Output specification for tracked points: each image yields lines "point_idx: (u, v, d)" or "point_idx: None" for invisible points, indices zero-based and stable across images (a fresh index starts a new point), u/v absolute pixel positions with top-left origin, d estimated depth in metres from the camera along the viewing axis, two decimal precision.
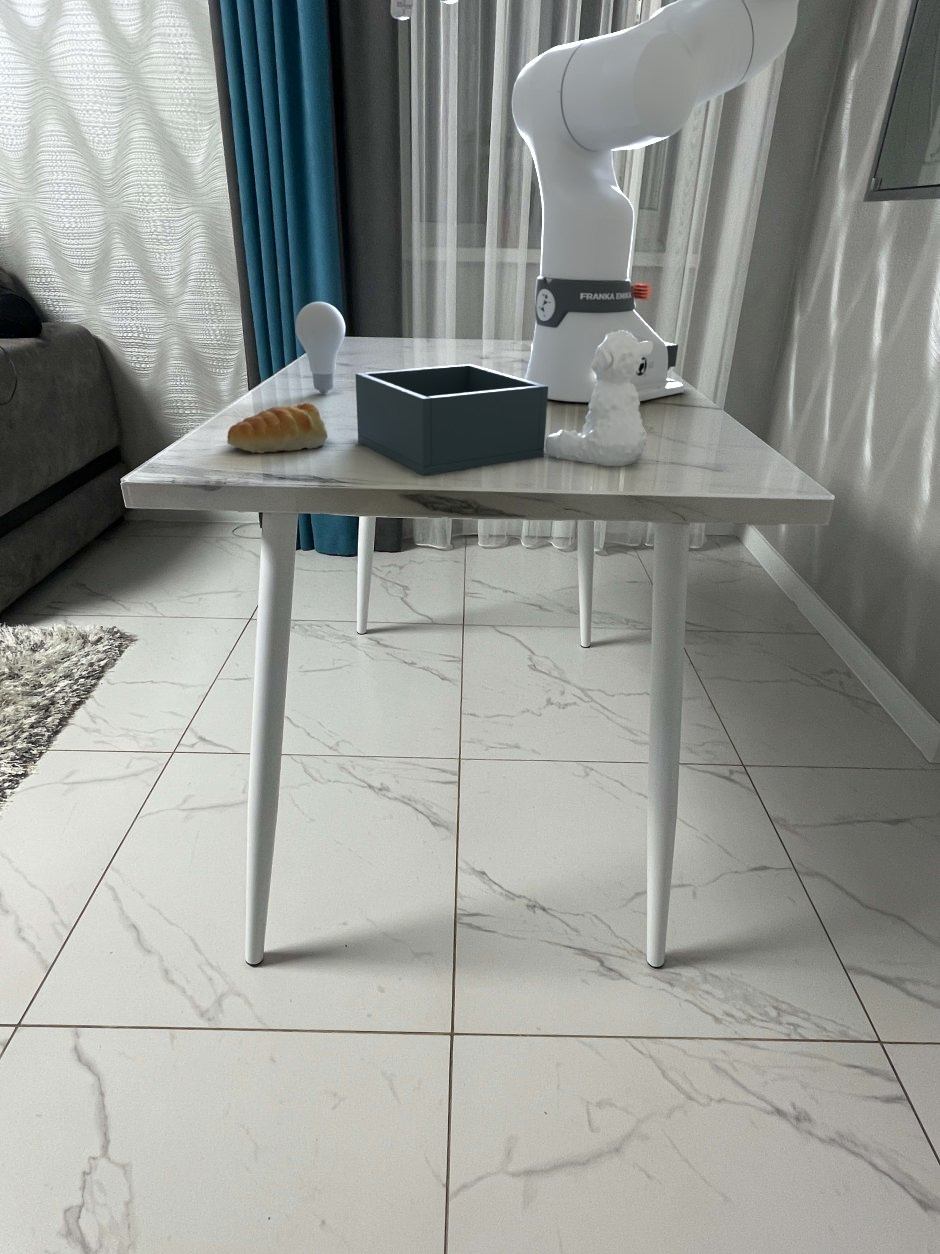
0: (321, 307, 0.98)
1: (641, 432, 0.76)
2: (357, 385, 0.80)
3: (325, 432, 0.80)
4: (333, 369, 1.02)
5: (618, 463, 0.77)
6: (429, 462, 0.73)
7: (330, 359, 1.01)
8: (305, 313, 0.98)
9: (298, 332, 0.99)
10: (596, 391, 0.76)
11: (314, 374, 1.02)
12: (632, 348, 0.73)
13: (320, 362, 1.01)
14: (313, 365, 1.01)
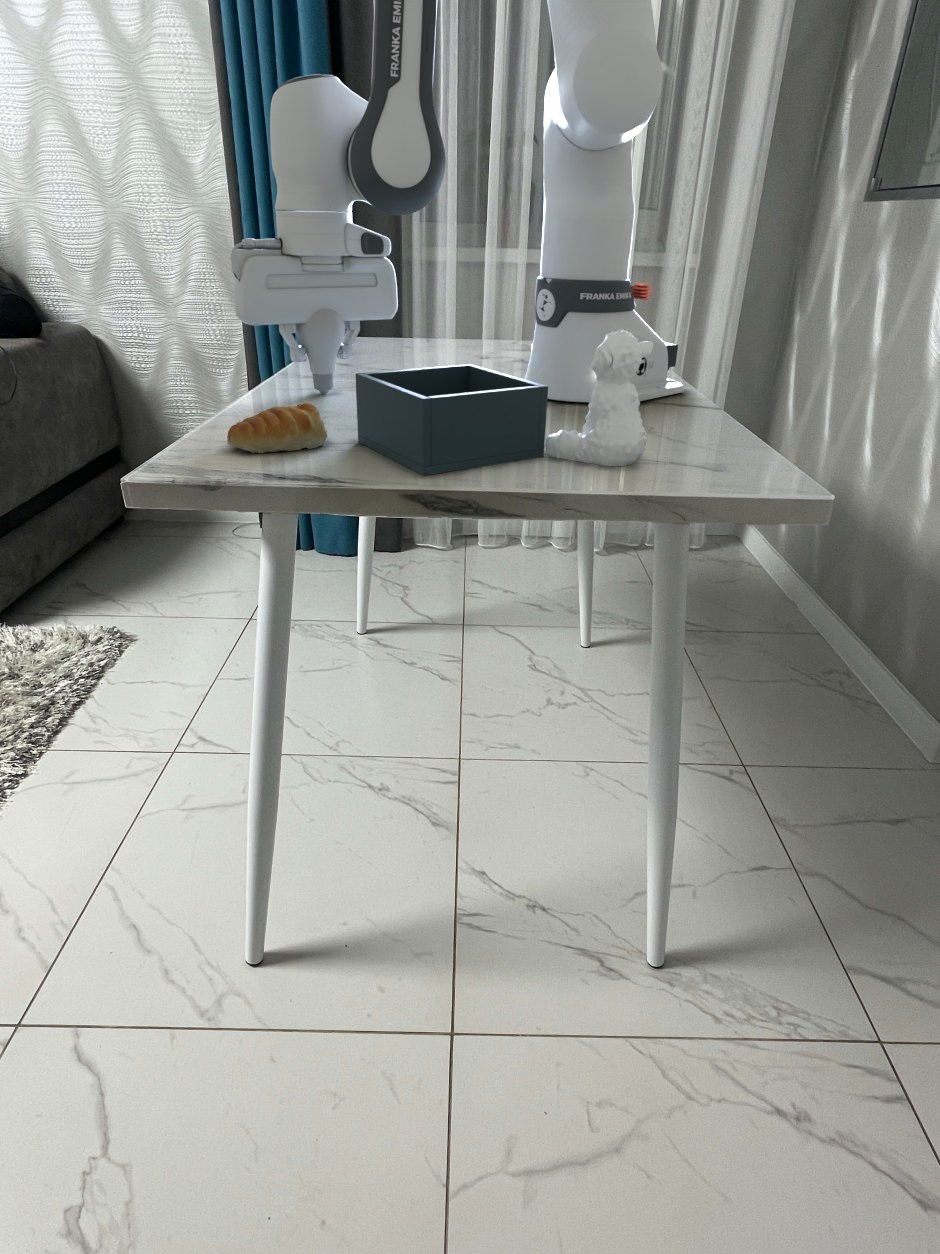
0: None
1: (641, 432, 0.76)
2: (357, 385, 0.80)
3: (325, 432, 0.80)
4: (333, 369, 1.02)
5: (618, 463, 0.77)
6: (429, 462, 0.73)
7: (330, 359, 1.01)
8: None
9: (298, 332, 0.99)
10: (596, 391, 0.76)
11: (314, 374, 1.02)
12: (632, 348, 0.73)
13: (320, 362, 1.01)
14: (313, 366, 1.01)
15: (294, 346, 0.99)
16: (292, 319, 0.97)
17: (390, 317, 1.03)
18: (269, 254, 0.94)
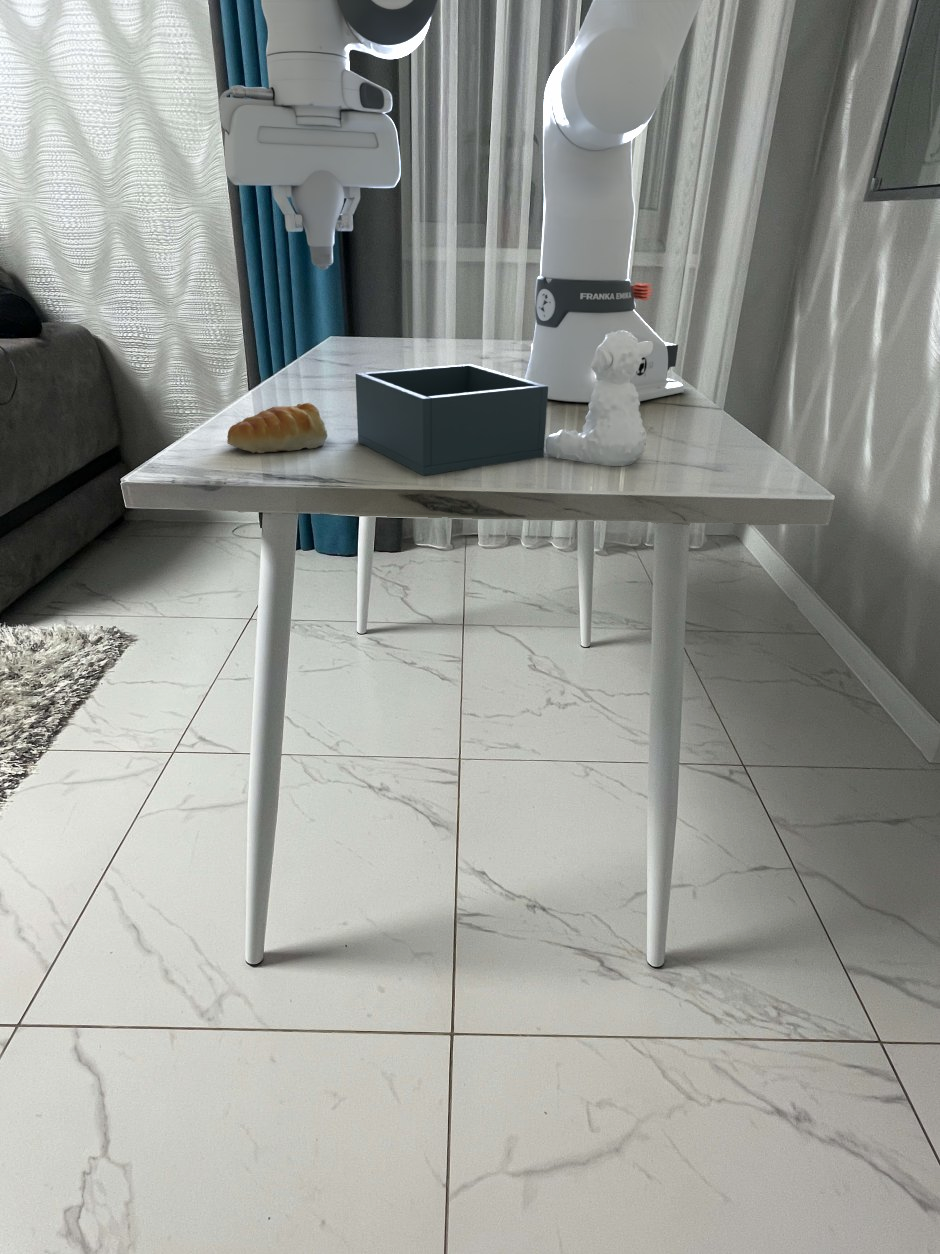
0: None
1: (641, 432, 0.76)
2: (357, 385, 0.80)
3: (325, 432, 0.80)
4: (332, 241, 0.95)
5: (618, 463, 0.77)
6: (429, 462, 0.73)
7: (328, 229, 0.94)
8: None
9: (293, 198, 0.92)
10: (596, 391, 0.76)
11: (312, 247, 0.95)
12: (632, 348, 0.73)
13: (318, 231, 0.94)
14: (311, 237, 0.94)
15: (290, 212, 0.92)
16: (287, 180, 0.90)
17: (392, 185, 0.96)
18: (260, 105, 0.86)
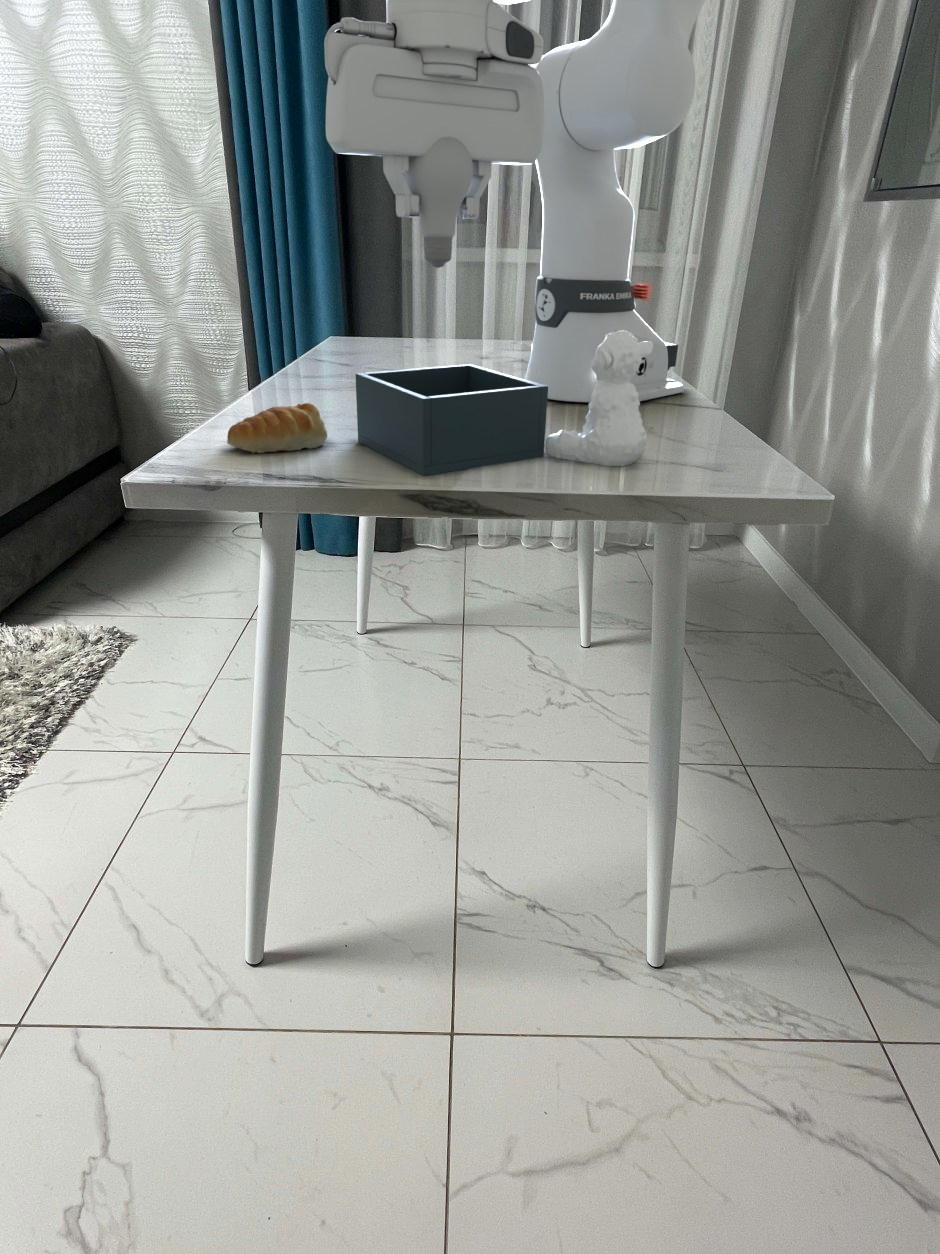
0: None
1: (641, 432, 0.76)
2: (357, 385, 0.80)
3: (325, 432, 0.80)
4: (453, 231, 0.73)
5: (618, 463, 0.77)
6: (429, 462, 0.73)
7: (451, 215, 0.72)
8: None
9: (409, 173, 0.70)
10: (596, 391, 0.76)
11: (427, 238, 0.73)
12: (632, 348, 0.73)
13: (438, 218, 0.72)
14: (428, 224, 0.73)
15: (405, 192, 0.70)
16: (405, 148, 0.68)
17: (532, 161, 0.74)
18: (378, 46, 0.65)
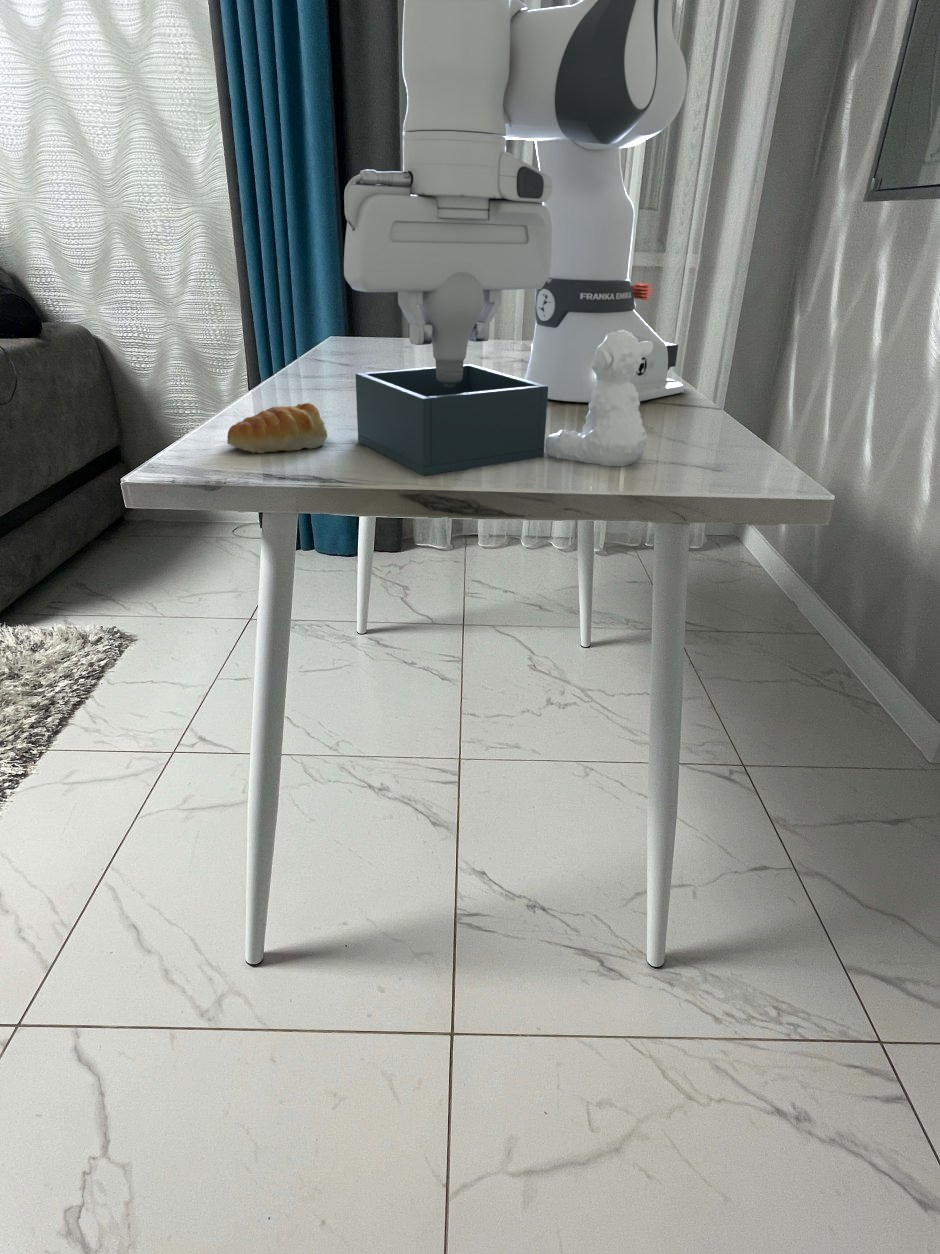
0: None
1: (641, 432, 0.76)
2: (357, 385, 0.80)
3: (325, 432, 0.80)
4: (464, 355, 0.76)
5: (618, 463, 0.77)
6: (429, 462, 0.73)
7: (462, 342, 0.75)
8: None
9: (423, 304, 0.73)
10: (596, 391, 0.76)
11: (439, 361, 0.76)
12: (632, 348, 0.73)
13: (450, 345, 0.75)
14: (440, 350, 0.75)
15: (418, 323, 0.73)
16: (420, 285, 0.71)
17: (540, 287, 0.77)
18: (395, 193, 0.68)
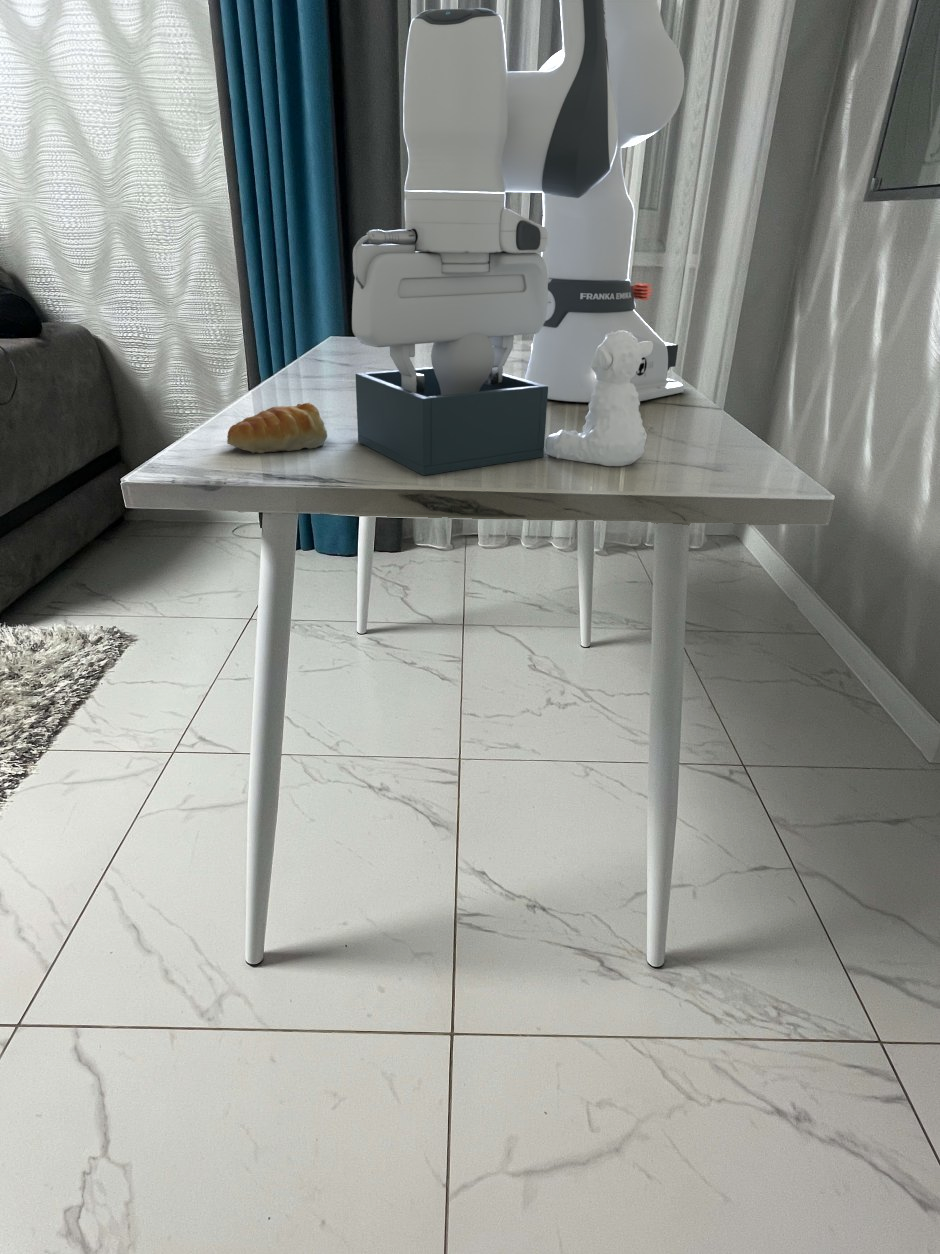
0: None
1: (641, 432, 0.76)
2: (357, 385, 0.80)
3: (325, 432, 0.80)
4: None
5: (618, 463, 0.77)
6: (429, 462, 0.73)
7: None
8: None
9: (439, 361, 0.76)
10: (596, 391, 0.76)
11: None
12: (632, 348, 0.73)
13: None
14: None
15: (411, 374, 0.74)
16: (427, 337, 0.73)
17: (537, 331, 0.80)
18: (401, 251, 0.69)
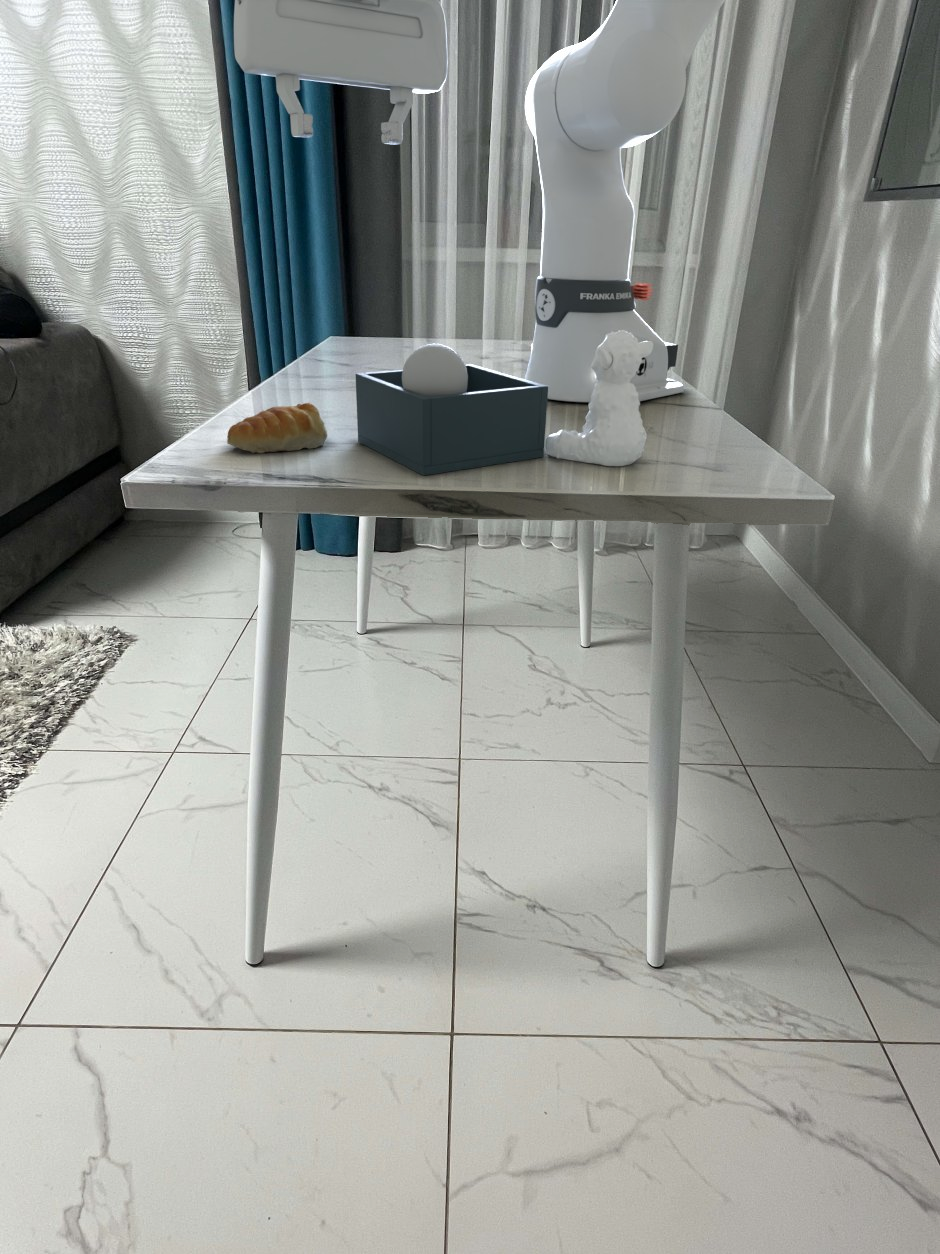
0: (431, 370, 0.72)
1: (641, 432, 0.76)
2: (357, 385, 0.80)
3: (325, 432, 0.80)
4: None
5: (618, 463, 0.77)
6: (429, 462, 0.73)
7: None
8: (416, 386, 0.72)
9: None
10: (596, 391, 0.76)
11: None
12: (632, 348, 0.73)
13: None
14: None
15: (297, 110, 0.73)
16: (311, 68, 0.72)
17: (437, 87, 0.79)
18: None
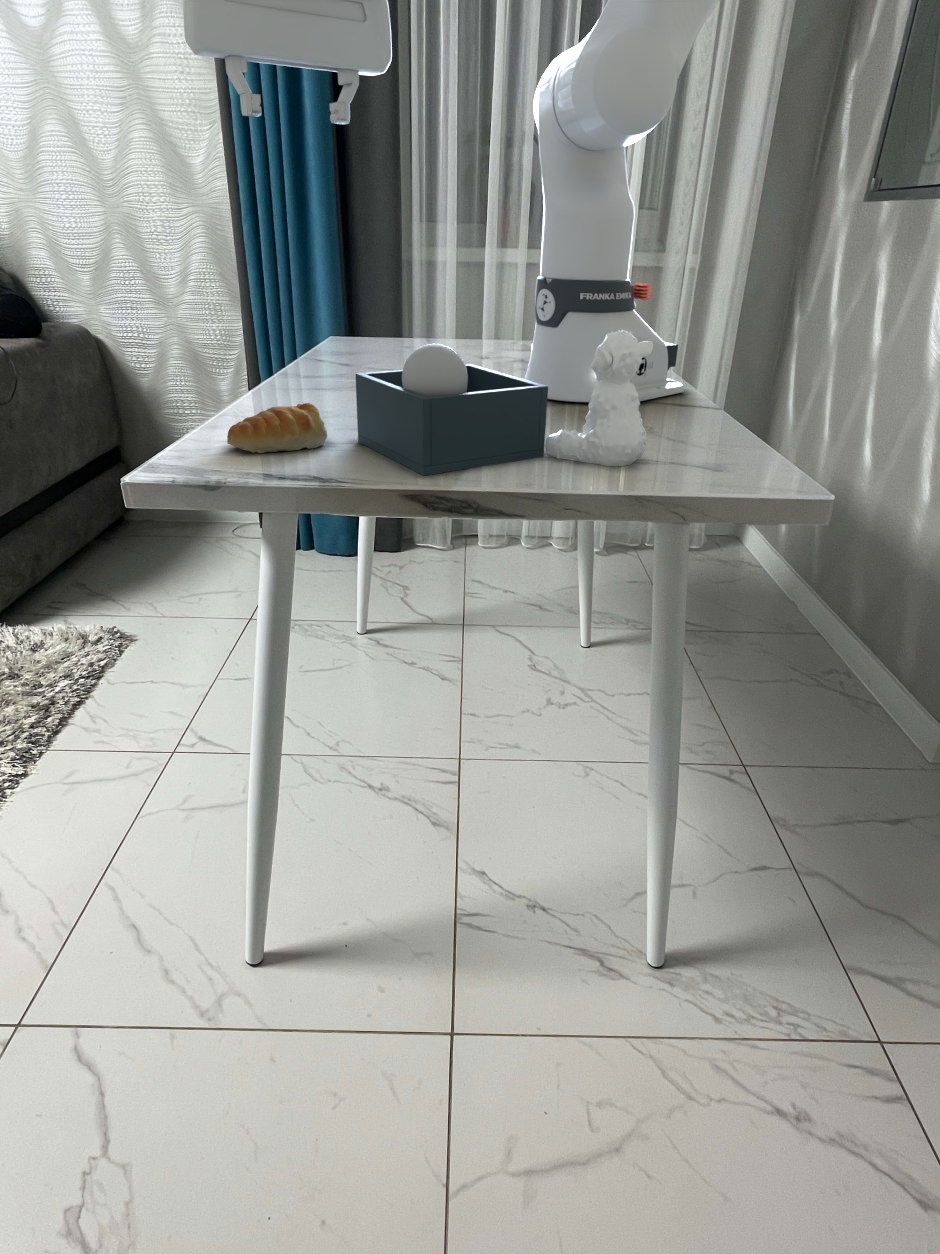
0: (431, 370, 0.72)
1: (641, 432, 0.76)
2: (357, 385, 0.80)
3: (325, 432, 0.80)
4: None
5: (618, 463, 0.77)
6: (429, 462, 0.73)
7: None
8: (416, 386, 0.72)
9: None
10: (596, 391, 0.76)
11: None
12: (632, 348, 0.73)
13: None
14: None
15: (245, 90, 0.78)
16: (257, 50, 0.76)
17: (382, 69, 0.83)
18: None
